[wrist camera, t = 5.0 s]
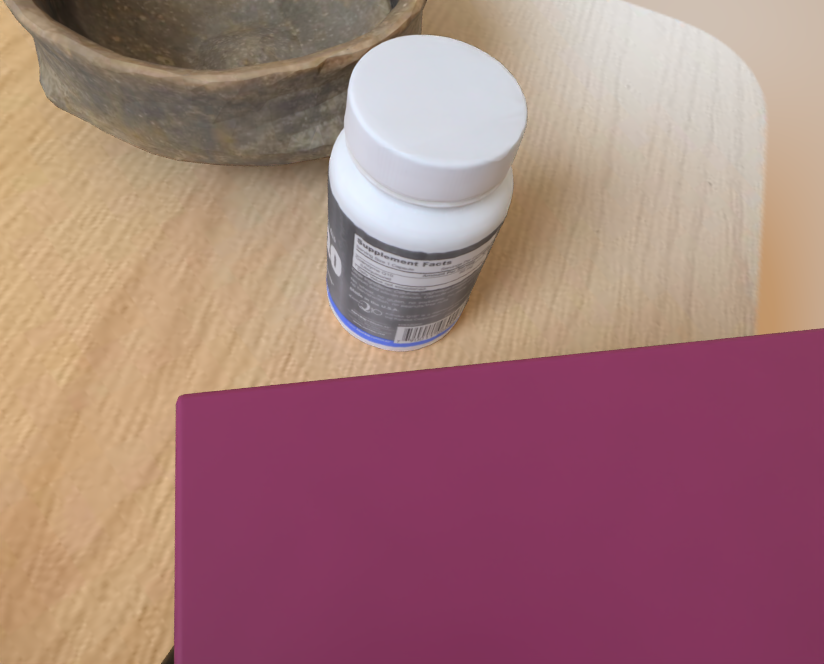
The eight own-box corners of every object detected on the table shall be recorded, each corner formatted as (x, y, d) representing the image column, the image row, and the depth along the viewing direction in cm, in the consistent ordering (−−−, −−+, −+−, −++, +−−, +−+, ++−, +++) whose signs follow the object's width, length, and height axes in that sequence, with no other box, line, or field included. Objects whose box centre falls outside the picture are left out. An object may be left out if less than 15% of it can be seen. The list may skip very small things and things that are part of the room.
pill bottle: (345, 223, 21) (359, -1, 14) (471, 254, 21) (554, 50, 14) (309, 336, 19) (302, 143, 11) (451, 370, 19) (536, 201, 11)
